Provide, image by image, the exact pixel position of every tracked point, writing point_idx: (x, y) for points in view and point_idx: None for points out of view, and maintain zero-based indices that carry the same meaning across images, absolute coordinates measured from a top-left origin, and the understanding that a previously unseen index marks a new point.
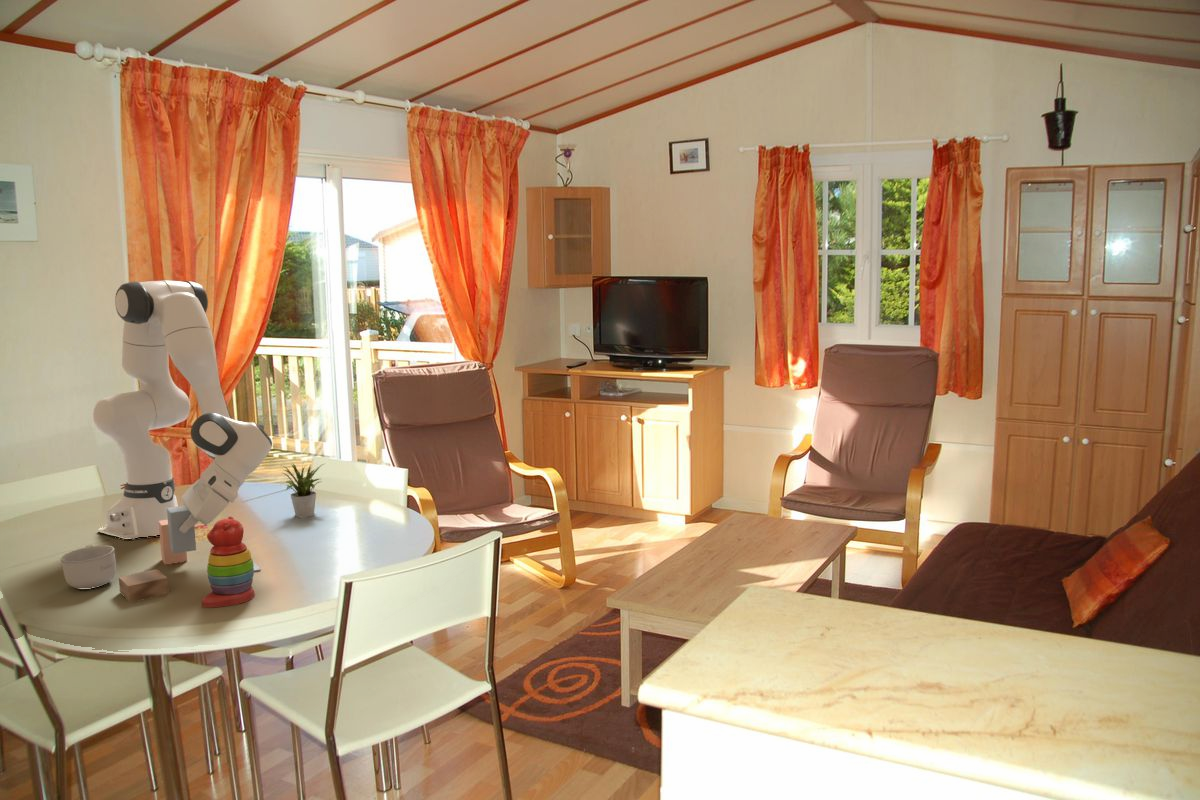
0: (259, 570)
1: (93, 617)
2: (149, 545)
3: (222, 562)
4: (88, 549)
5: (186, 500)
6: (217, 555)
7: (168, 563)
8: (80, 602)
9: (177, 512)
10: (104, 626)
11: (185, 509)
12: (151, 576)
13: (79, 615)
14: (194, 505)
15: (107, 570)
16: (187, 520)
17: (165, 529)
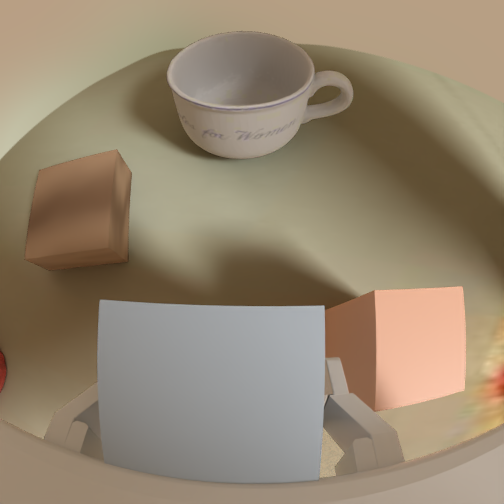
0: None
1: (45, 136)
2: (501, 291)
3: None
4: (307, 72)
5: (386, 502)
6: None
7: None
8: (136, 110)
9: (100, 364)
10: (5, 154)
11: (147, 451)
12: (57, 224)
13: (72, 116)
14: (49, 499)
15: (184, 124)
16: (69, 402)
17: (364, 312)
